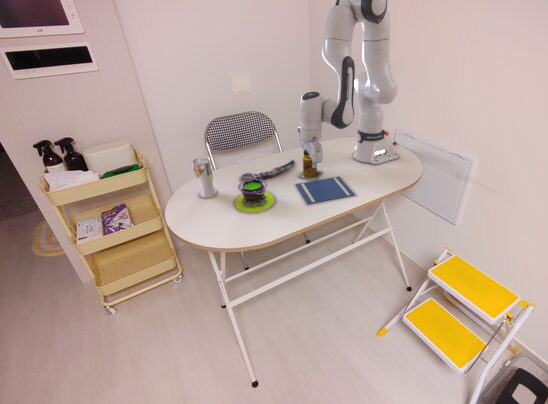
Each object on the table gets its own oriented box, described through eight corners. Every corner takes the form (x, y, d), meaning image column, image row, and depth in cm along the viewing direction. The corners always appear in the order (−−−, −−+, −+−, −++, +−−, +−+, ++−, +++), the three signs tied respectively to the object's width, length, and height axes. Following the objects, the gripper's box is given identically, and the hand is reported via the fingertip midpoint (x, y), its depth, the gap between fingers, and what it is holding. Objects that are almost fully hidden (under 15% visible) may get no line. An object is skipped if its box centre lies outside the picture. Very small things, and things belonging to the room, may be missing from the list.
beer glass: (202, 189, 127) (195, 156, 118) (219, 189, 126) (212, 156, 118) (197, 198, 121) (188, 164, 112) (214, 198, 121) (206, 164, 112)
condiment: (299, 177, 135) (299, 152, 128) (307, 169, 141) (306, 145, 135) (315, 180, 132) (315, 155, 126) (321, 172, 139) (322, 147, 132)
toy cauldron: (277, 208, 114) (275, 183, 108) (237, 215, 111) (232, 189, 105) (270, 189, 126) (268, 165, 120) (234, 194, 123) (229, 170, 117)
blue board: (339, 177, 135) (339, 176, 134) (354, 195, 122) (354, 194, 122) (296, 184, 129) (296, 183, 129) (307, 204, 117) (307, 203, 116)
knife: (292, 158, 148) (303, 165, 141) (292, 161, 149) (303, 168, 142) (237, 174, 136) (246, 182, 128) (238, 177, 137) (246, 185, 129)
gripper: (327, 141, 118) (326, 172, 126) (310, 125, 134) (310, 153, 142) (311, 143, 117) (311, 175, 124) (296, 126, 133) (297, 155, 140)
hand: (310, 163), depth 133 cm, fingers closed on condiment, 6 cm apart
